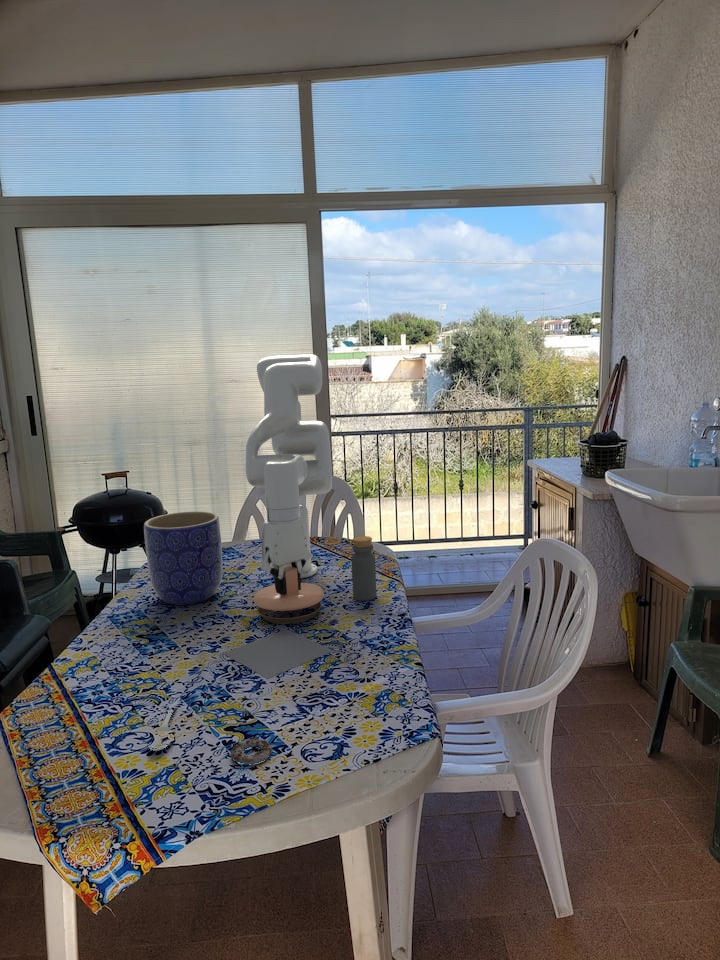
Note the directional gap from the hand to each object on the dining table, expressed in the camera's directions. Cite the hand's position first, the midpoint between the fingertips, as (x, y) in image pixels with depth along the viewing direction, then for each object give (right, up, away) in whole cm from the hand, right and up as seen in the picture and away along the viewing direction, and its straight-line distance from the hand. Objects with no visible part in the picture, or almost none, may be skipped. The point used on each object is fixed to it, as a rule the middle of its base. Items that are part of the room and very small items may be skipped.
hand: (288, 590), depth 151 cm
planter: (-27, -5, +16) cm, 32 cm away
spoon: (-15, -15, -42) cm, 47 cm away
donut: (0, -17, -53) cm, 55 cm away
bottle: (+18, -4, +11) cm, 21 cm away
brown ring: (0, -7, +1) cm, 7 cm away
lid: (0, -2, 0) cm, 2 cm away
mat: (0, -10, -19) cm, 22 cm away
